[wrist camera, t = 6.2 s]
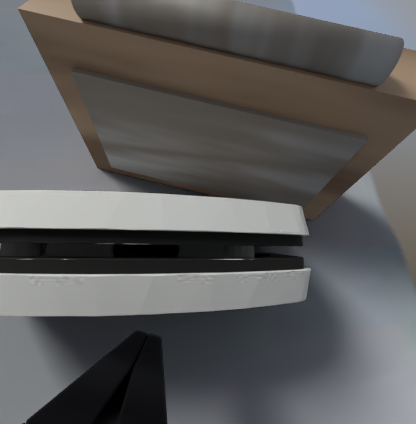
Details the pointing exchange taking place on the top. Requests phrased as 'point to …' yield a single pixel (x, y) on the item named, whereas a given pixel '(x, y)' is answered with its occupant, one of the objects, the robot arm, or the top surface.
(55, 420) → the robot arm
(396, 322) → the top surface
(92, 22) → the tan flat boxy piece
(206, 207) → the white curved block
